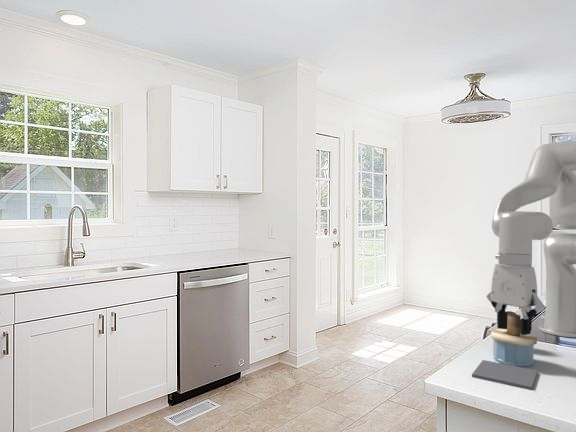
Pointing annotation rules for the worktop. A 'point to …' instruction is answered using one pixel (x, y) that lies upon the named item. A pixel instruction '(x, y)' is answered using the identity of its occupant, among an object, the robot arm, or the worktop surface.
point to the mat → (506, 374)
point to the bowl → (513, 354)
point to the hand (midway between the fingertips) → (513, 330)
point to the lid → (513, 333)
